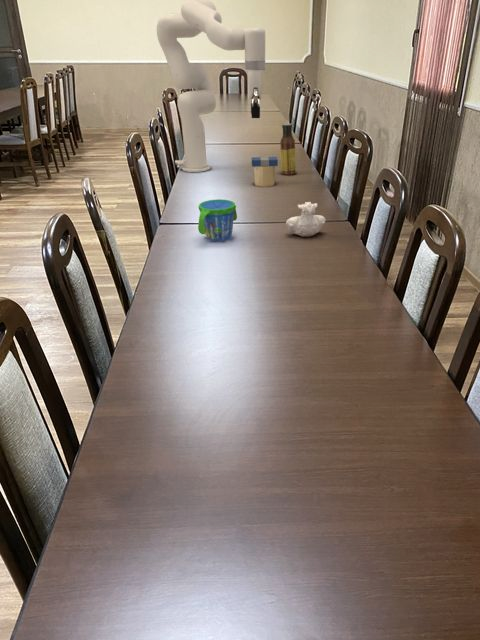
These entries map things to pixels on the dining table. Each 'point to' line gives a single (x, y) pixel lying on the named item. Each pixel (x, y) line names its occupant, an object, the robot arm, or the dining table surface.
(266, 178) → the beige cup
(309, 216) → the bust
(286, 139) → the sauce bottle
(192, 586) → the dining table surface
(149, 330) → the dining table surface
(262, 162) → the block
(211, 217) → the snack cup
